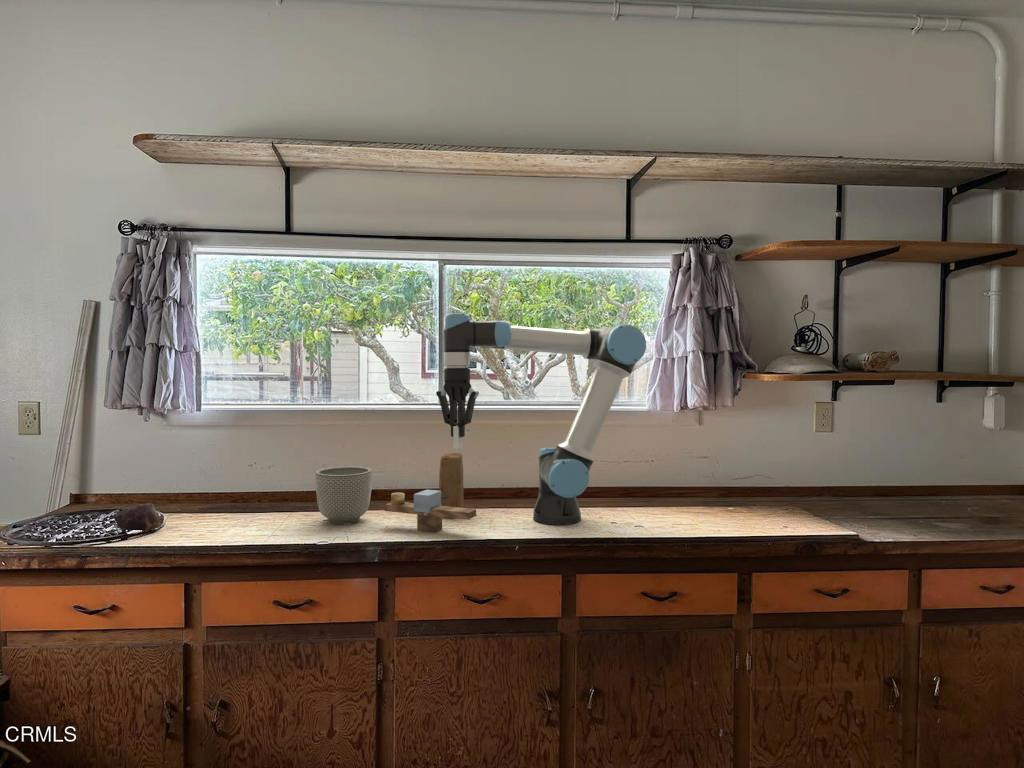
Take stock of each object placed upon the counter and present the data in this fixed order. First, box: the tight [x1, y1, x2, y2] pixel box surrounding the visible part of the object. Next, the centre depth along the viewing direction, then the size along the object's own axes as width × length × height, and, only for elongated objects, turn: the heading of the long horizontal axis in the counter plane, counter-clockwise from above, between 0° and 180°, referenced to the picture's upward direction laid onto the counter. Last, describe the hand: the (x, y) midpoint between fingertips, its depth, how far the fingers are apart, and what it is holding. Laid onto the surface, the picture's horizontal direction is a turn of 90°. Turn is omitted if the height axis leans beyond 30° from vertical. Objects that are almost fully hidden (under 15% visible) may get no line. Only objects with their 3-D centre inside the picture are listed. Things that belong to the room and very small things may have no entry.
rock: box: [113, 502, 165, 533], centre depth 183 cm, size 12×9×10 cm
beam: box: [384, 491, 477, 534], centre depth 187 cm, size 28×5×10 cm, turn 68°
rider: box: [413, 489, 441, 513], centre depth 187 cm, size 5×8×5 cm, turn 158°
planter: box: [314, 465, 373, 526], centre depth 197 cm, size 17×17×16 cm
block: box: [438, 452, 465, 508], centre depth 207 cm, size 11×8×20 cm
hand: (457, 448), depth 183 cm, fingers closed
